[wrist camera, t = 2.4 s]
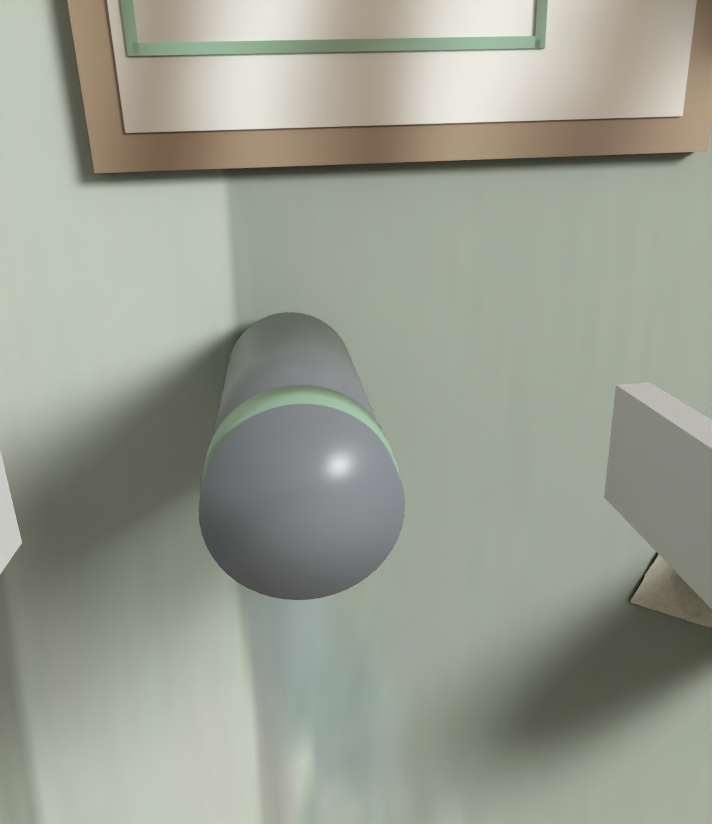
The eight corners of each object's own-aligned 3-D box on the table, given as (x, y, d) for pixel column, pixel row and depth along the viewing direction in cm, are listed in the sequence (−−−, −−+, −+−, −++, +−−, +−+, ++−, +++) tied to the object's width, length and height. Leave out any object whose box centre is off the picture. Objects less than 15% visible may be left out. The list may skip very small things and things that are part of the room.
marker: (234, 425, 22) (208, 611, 13) (222, 308, 21) (183, 422, 12) (352, 416, 23) (408, 591, 13) (347, 301, 21) (406, 406, 12)
